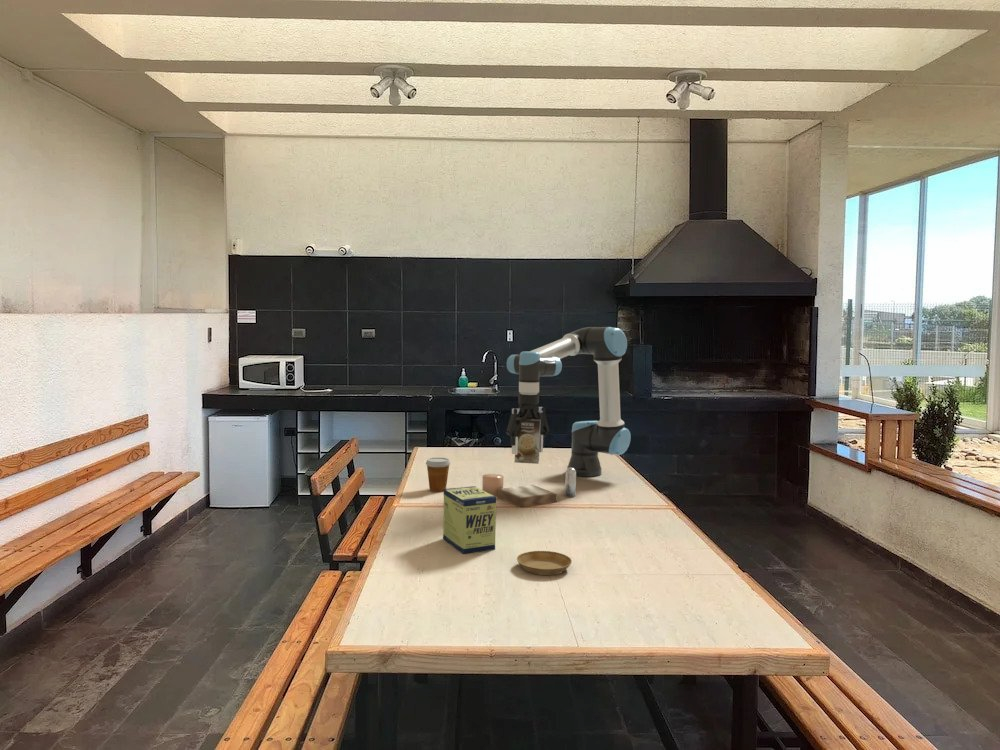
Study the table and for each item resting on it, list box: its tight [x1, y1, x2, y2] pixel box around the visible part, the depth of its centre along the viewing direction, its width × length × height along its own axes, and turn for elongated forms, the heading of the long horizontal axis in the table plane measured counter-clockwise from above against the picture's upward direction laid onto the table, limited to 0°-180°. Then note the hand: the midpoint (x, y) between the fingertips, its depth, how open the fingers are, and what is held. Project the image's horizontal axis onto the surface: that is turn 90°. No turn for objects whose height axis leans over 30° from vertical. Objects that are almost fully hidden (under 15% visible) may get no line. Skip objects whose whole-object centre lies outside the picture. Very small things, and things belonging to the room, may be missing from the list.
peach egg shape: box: [481, 473, 504, 498], centre depth 267 cm, size 8×8×7 cm
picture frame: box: [496, 484, 558, 508], centre depth 259 cm, size 16×16×3 cm
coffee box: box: [514, 417, 541, 465], centre depth 258 cm, size 9×6×16 cm
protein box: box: [442, 485, 497, 555], centre depth 206 cm, size 10×16×16 cm
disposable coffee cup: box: [425, 457, 451, 493], centre depth 271 cm, size 10×10×12 cm
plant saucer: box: [516, 550, 573, 576], centre depth 187 cm, size 15×15×3 cm
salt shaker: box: [564, 467, 577, 498], centre depth 266 cm, size 4×4×11 cm
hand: (527, 452), depth 258 cm, fingers closed on coffee box, 10 cm apart
